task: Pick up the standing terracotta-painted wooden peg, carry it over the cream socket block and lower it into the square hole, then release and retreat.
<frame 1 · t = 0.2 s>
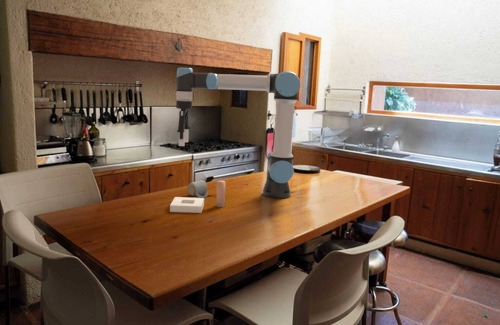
hand: (183, 144, 202), 28 cm above the table, fingers open, 13 cm apart
ceramic mug: (199, 196, 213), on the table
peg: (220, 205, 196), on the table
socket block: (187, 207, 191), on the table
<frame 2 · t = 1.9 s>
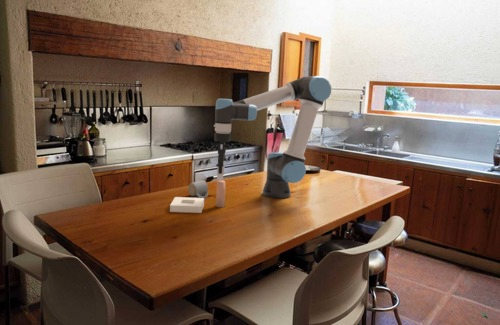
hand: (220, 177, 194), 14 cm above the table, fingers open, 13 cm apart
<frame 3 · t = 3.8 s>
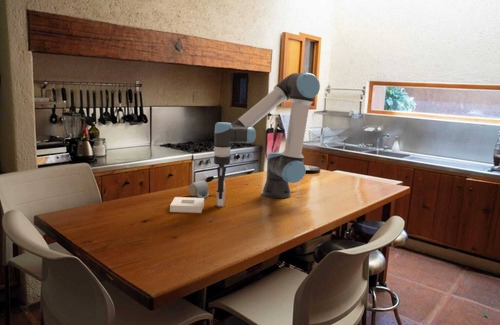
hand: (220, 203, 196), 1 cm above the table, fingers closed on peg, 4 cm apart
peg: (220, 205, 196), on the table, touching gripper
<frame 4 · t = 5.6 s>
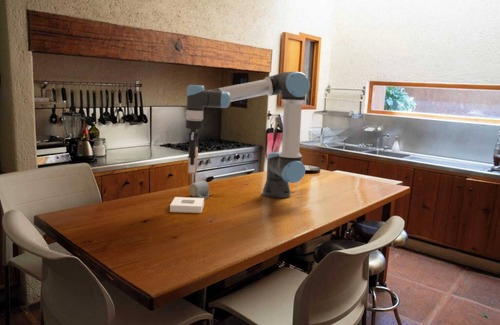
hand: (192, 170, 188), 18 cm above the table, fingers closed on peg, 4 cm apart
peg: (192, 173, 189), point 17 cm above the table, touching gripper
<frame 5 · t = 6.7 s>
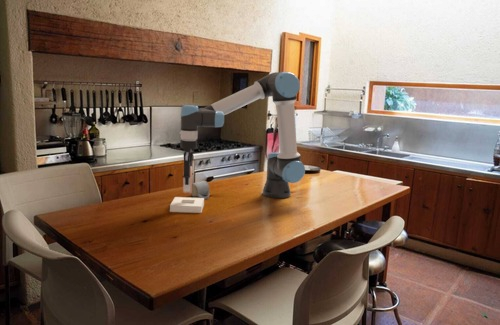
hand: (187, 189, 189), 9 cm above the table, fingers closed on peg, 4 cm apart
peg: (187, 192, 190), point 8 cm above the table, touching gripper
when the fingers open (4 cm above the table, at t = 7.7 s): peg drops 3 cm, resting in socket block.
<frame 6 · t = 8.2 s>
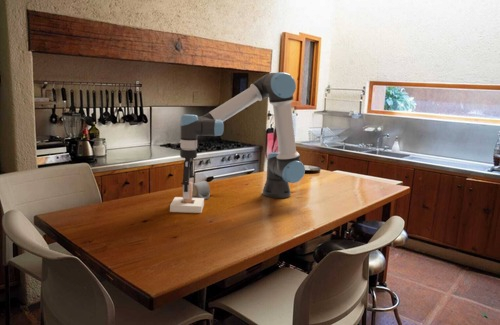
hand: (187, 194, 190), 6 cm above the table, fingers open, 12 cm apart
peg: (187, 207, 191), resting in socket block
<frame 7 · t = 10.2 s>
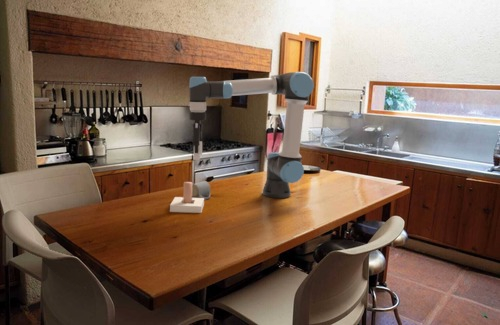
hand: (198, 157, 191), 23 cm above the table, fingers open, 13 cm apart
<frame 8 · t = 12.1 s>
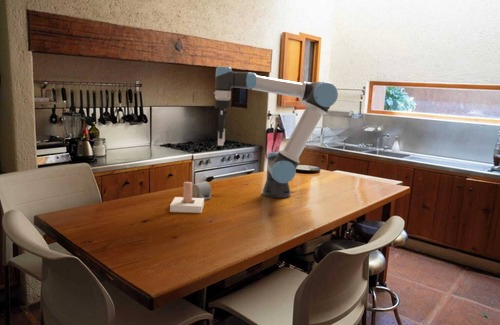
hand: (221, 143, 201), 29 cm above the table, fingers open, 13 cm apart
at the end: peg 0.0 cm off-centre on the socket block, point 0.0 cm above the socket block's base; peg tilted 0°; the gripper is holding nothing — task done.
